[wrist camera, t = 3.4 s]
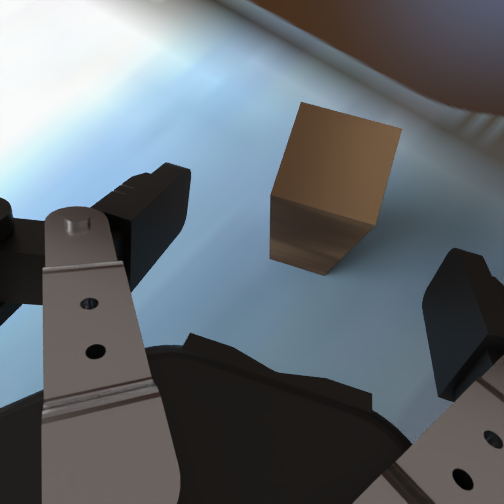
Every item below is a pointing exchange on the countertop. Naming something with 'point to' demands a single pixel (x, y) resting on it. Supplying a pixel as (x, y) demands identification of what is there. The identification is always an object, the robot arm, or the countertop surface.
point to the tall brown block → (328, 187)
